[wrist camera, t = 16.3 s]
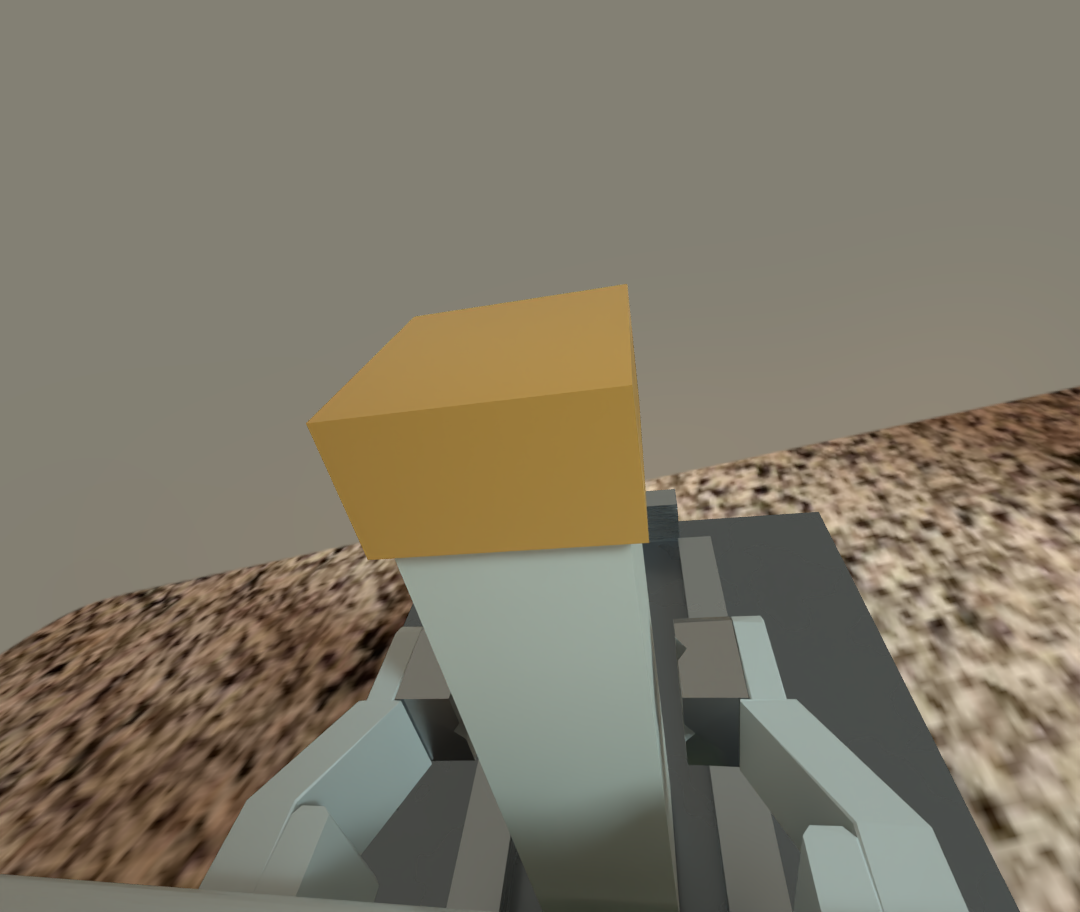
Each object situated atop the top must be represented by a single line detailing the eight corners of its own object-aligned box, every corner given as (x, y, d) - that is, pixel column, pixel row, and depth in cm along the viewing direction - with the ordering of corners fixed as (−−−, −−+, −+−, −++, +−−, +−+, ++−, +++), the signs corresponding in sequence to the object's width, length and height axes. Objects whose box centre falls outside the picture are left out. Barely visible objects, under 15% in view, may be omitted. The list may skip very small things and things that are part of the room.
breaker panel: (813, 568, 23) (822, 474, 21) (1080, 1190, 10) (1191, 1129, 7) (457, 585, 26) (429, 505, 24) (290, 1073, 13) (188, 1003, 11)
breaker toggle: (677, 777, 14) (627, 283, 8) (693, 949, 11) (632, 385, 5) (553, 774, 15) (414, 316, 8) (538, 935, 12) (305, 422, 5)
